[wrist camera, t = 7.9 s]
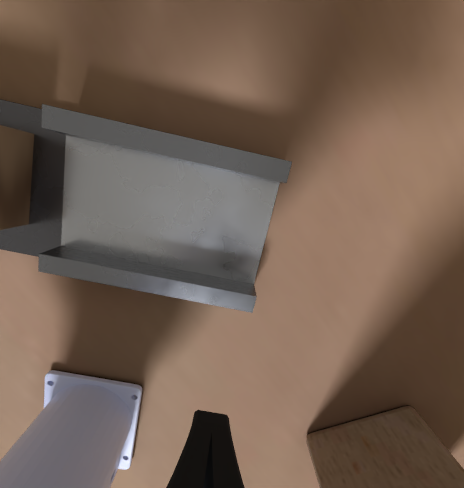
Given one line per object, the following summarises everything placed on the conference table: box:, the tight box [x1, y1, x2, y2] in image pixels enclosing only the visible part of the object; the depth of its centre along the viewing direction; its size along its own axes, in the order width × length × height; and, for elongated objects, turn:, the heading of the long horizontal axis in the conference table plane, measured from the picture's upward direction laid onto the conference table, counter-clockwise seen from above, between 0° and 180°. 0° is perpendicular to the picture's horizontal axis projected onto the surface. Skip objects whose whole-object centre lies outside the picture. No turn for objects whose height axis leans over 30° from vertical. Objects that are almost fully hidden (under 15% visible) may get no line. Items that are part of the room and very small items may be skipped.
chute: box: [0, 100, 292, 312], centre depth 15 cm, size 10×24×3 cm, turn 78°
